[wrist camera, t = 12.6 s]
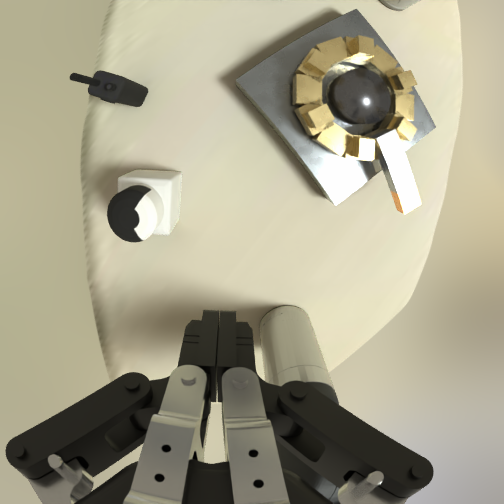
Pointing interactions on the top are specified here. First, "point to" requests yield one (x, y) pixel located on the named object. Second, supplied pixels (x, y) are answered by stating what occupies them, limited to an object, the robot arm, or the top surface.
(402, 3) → the travel mug
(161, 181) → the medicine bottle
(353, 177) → the domed button plate
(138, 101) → the walkie-talkie
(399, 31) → the top surface
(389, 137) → the segmented ring
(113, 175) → the top surface
